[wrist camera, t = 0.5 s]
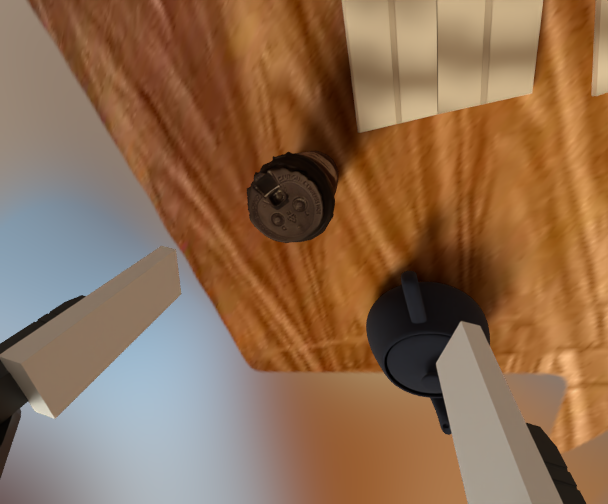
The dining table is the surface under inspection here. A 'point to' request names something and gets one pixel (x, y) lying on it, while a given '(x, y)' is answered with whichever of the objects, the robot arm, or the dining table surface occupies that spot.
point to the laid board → (485, 51)
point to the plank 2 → (600, 49)
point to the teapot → (419, 334)
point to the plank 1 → (392, 60)
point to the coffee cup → (293, 196)
